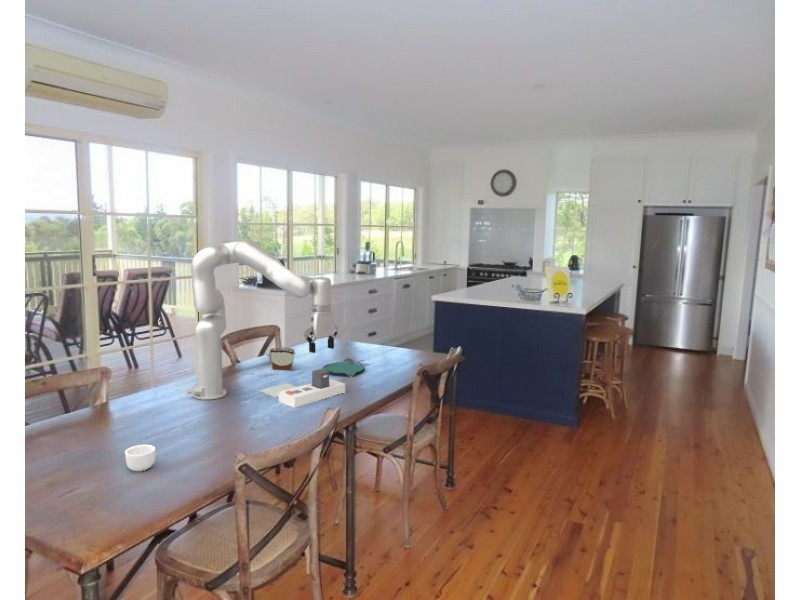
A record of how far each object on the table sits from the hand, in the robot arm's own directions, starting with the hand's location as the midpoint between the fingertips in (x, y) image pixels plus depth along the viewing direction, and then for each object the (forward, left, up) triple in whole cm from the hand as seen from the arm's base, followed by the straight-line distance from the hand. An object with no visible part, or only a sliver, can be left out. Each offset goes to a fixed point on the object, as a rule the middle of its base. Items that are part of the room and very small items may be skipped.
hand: (321, 350), depth 220 cm
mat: (-8, +15, -19) cm, 25 cm away
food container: (+13, +42, -19) cm, 48 cm away
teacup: (-79, -14, -19) cm, 83 cm away
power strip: (-4, 0, -19) cm, 19 cm away
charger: (0, 0, -17) cm, 17 cm away
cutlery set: (+36, +22, -20) cm, 46 cm away
